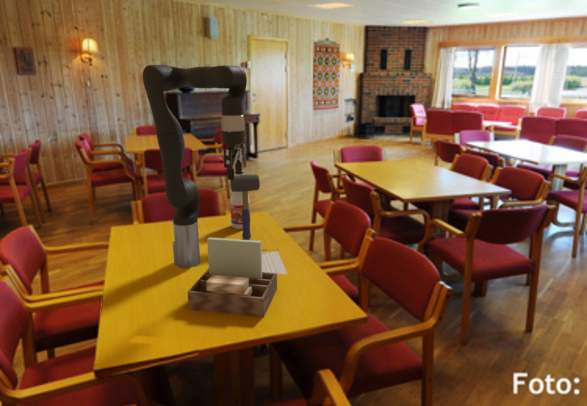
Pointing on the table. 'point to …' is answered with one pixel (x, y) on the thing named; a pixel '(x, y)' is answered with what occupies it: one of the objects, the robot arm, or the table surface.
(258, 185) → the rubber mallet
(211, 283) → the offcut top
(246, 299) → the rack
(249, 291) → the offcut middle
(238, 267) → the tall sheet
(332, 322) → the table surface
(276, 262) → the baseboard molding
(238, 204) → the fruit juice
